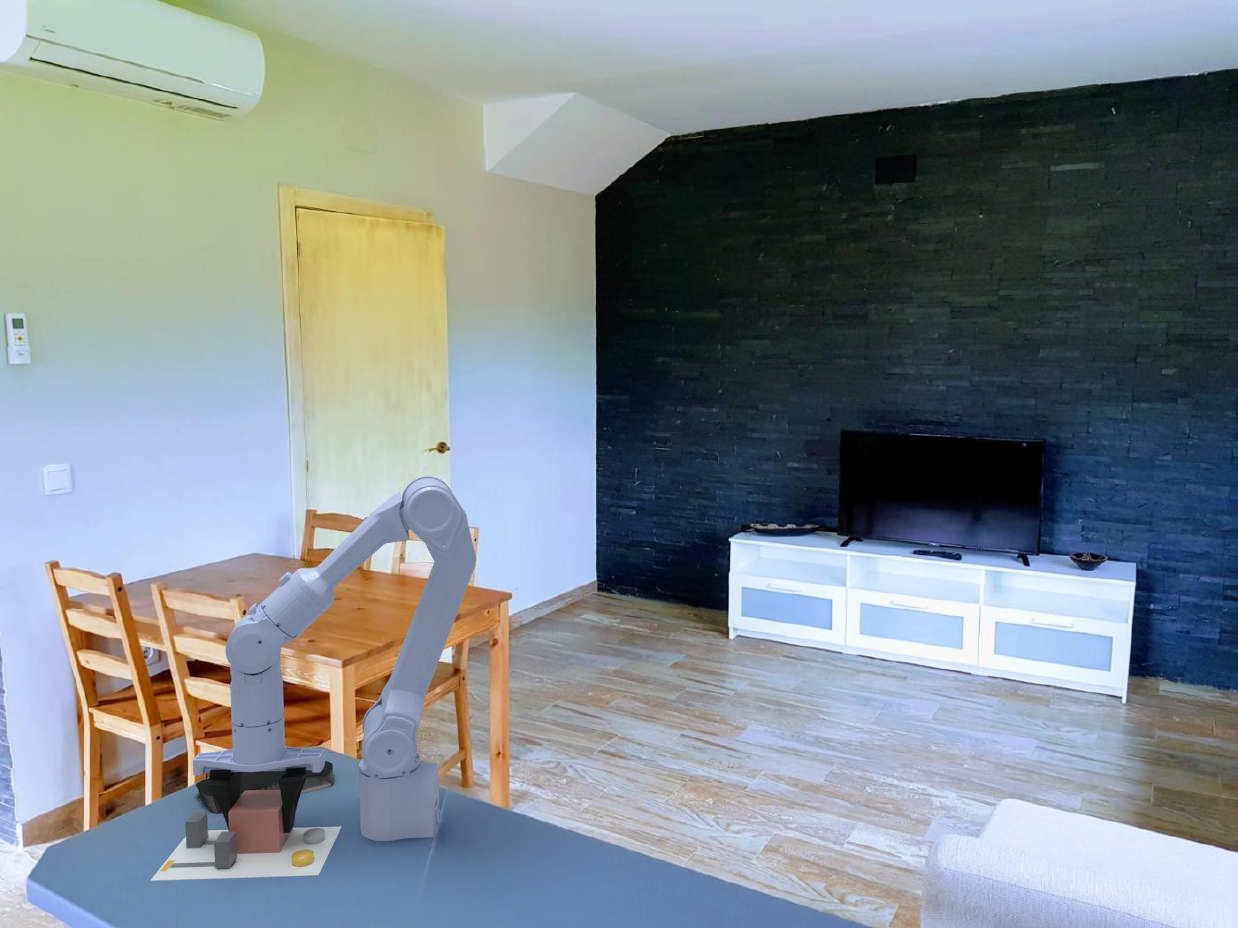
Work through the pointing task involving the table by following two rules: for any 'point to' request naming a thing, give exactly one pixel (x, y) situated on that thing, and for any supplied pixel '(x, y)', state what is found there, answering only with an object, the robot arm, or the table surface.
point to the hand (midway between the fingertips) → (262, 829)
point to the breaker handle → (225, 849)
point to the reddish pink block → (258, 822)
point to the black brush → (269, 783)
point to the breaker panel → (246, 855)
